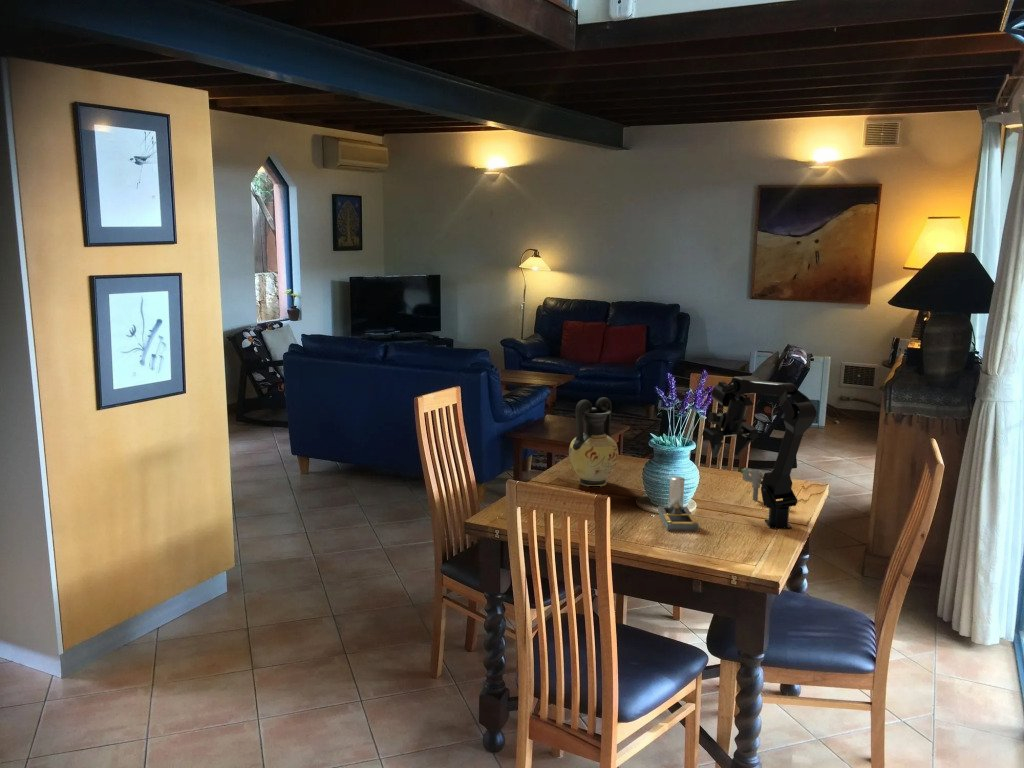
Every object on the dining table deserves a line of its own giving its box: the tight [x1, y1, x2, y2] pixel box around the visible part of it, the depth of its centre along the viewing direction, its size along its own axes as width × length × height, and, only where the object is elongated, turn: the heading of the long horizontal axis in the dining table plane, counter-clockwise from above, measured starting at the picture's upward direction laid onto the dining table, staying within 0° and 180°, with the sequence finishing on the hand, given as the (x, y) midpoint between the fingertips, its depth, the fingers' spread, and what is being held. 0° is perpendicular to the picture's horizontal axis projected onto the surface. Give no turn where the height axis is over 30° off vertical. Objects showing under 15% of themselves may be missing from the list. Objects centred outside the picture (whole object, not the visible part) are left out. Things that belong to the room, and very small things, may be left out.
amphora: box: [568, 396, 619, 487], centre depth 289 cm, size 18×17×30 cm
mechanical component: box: [740, 467, 764, 501], centre depth 275 cm, size 3×10×10 cm, turn 53°
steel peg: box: [667, 475, 685, 514], centre depth 257 cm, size 4×4×12 cm
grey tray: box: [657, 505, 699, 532], centre depth 254 cm, size 16×9×2 cm, turn 0°
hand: (724, 456), depth 273 cm, fingers open, 9 cm apart
